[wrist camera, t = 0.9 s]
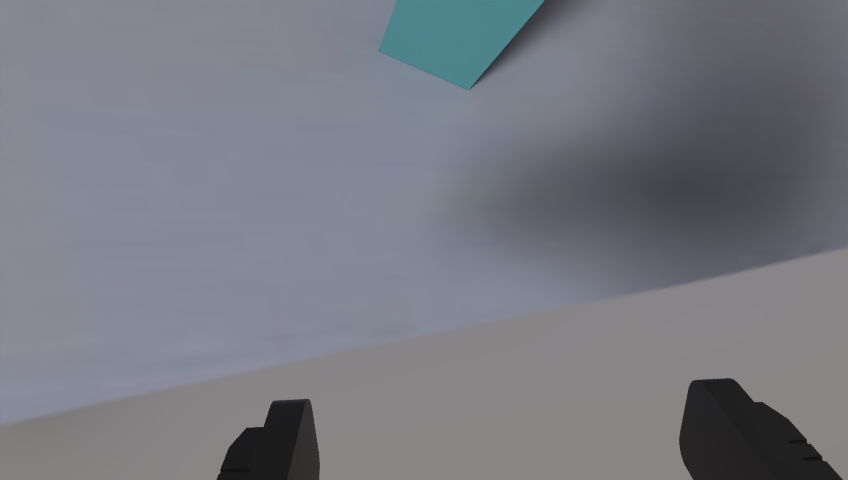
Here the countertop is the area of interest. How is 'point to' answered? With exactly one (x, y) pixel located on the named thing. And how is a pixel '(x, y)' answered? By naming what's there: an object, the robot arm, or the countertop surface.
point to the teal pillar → (454, 34)
